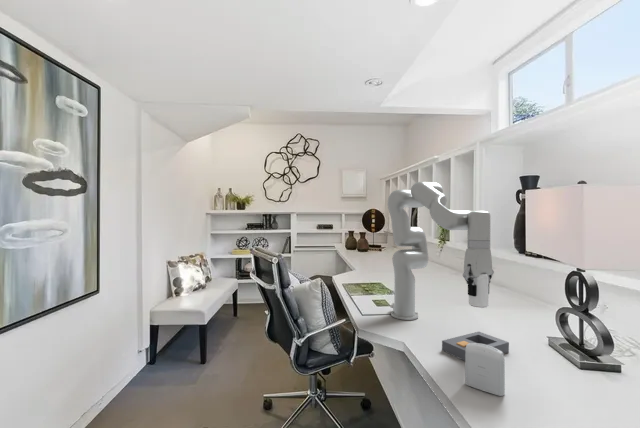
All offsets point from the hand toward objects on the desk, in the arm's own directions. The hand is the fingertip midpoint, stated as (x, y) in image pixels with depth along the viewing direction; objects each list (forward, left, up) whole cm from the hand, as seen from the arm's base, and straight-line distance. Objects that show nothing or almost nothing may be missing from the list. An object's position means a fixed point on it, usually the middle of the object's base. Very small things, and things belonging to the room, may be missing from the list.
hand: (478, 294), depth 122 cm
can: (0, 0, -4) cm, 4 cm away
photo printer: (+19, -23, -20) cm, 36 cm away
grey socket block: (+1, -3, -20) cm, 20 cm away
